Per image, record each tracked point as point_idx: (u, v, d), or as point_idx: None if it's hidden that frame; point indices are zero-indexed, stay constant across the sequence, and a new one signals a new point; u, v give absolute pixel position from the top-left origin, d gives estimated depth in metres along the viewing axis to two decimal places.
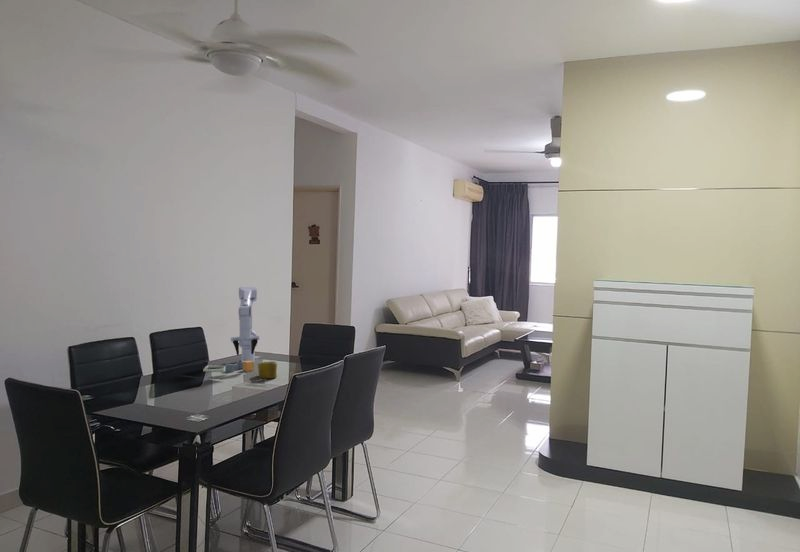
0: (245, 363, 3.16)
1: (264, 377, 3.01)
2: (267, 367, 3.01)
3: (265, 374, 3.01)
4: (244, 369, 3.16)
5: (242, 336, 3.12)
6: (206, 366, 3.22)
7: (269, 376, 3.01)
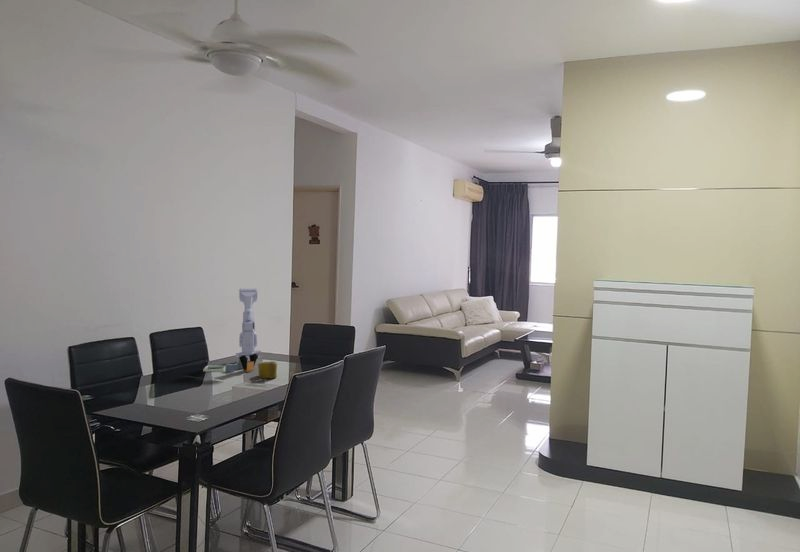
0: None
1: (264, 377, 3.01)
2: (267, 367, 3.01)
3: (265, 374, 3.01)
4: None
5: (247, 351, 3.14)
6: (206, 366, 3.22)
7: (269, 376, 3.01)
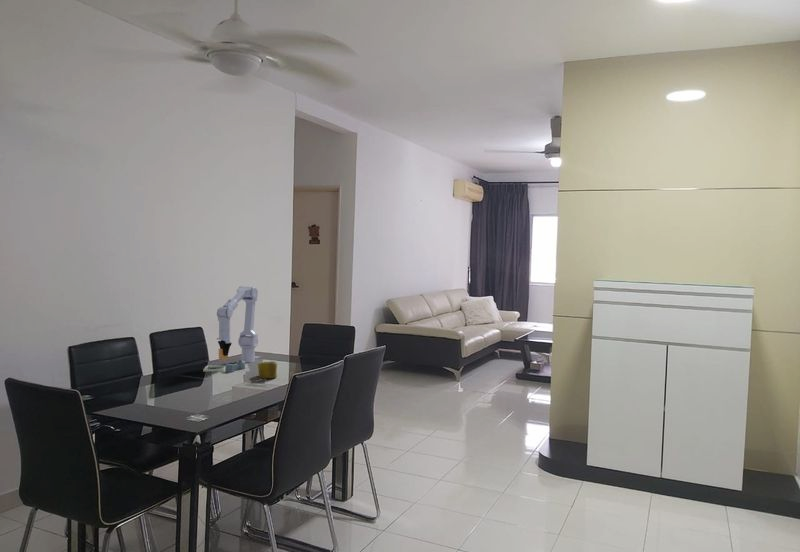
0: None
1: (264, 377, 3.01)
2: (267, 367, 3.01)
3: (265, 374, 3.01)
4: None
5: None
6: (206, 366, 3.22)
7: (269, 376, 3.01)
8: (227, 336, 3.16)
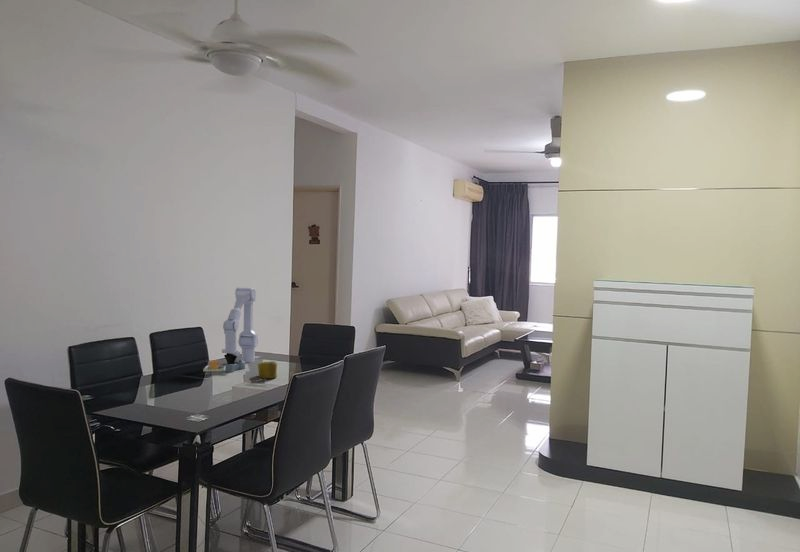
0: None
1: (264, 377, 3.01)
2: (267, 367, 3.01)
3: (265, 374, 3.01)
4: None
5: (225, 349, 3.18)
6: (206, 366, 3.22)
7: (269, 376, 3.01)
8: (235, 349, 3.17)
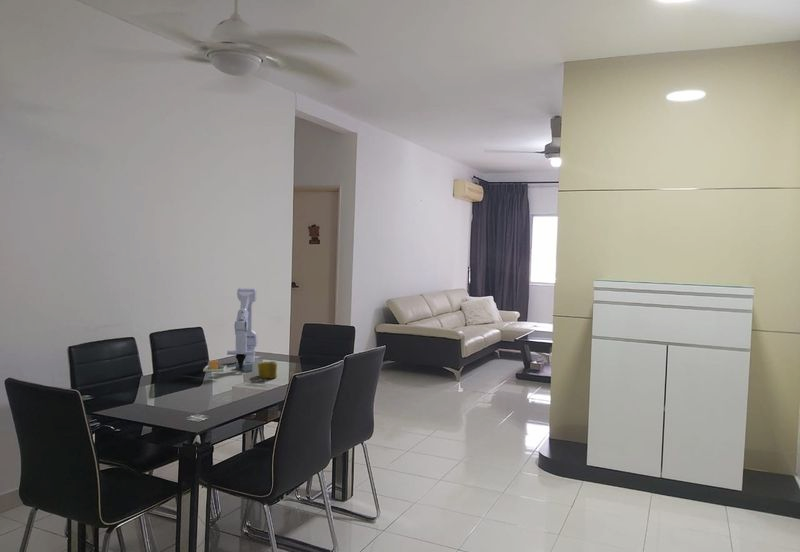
0: None
1: (264, 377, 3.01)
2: (267, 367, 3.01)
3: (265, 374, 3.01)
4: None
5: (236, 350, 3.14)
6: (206, 366, 3.22)
7: (269, 376, 3.01)
8: (246, 349, 3.17)
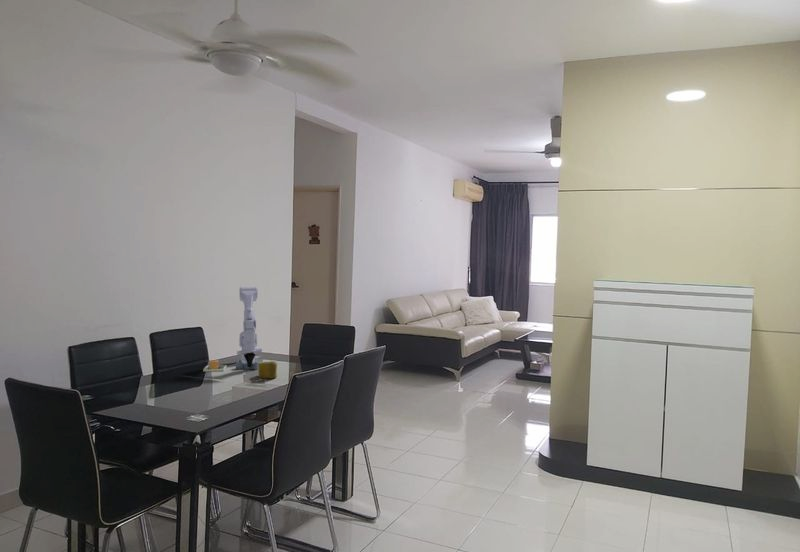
0: None
1: (264, 377, 3.01)
2: (267, 367, 3.01)
3: (265, 374, 3.01)
4: None
5: (249, 349, 3.17)
6: (206, 366, 3.22)
7: (269, 376, 3.01)
8: None
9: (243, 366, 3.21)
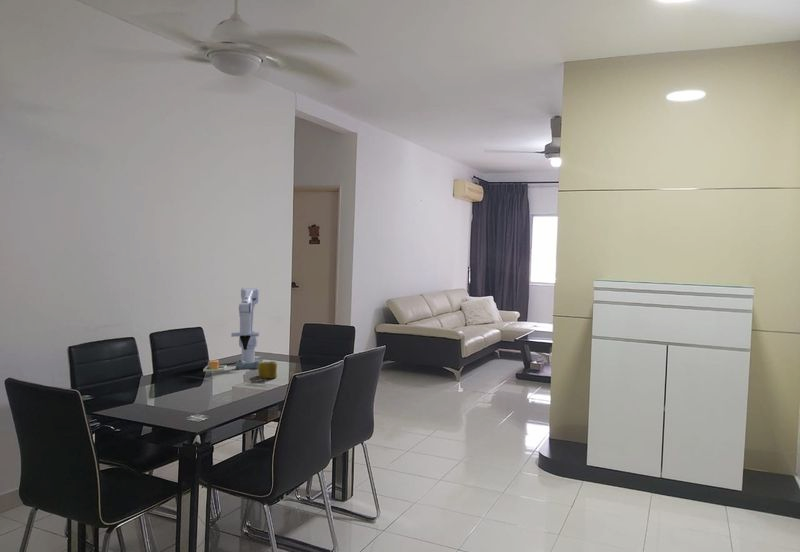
0: None
1: (264, 377, 3.01)
2: (267, 367, 3.01)
3: (265, 374, 3.01)
4: None
5: (241, 332, 3.24)
6: (206, 366, 3.22)
7: (269, 376, 3.01)
8: None
9: (244, 366, 3.22)
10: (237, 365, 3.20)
